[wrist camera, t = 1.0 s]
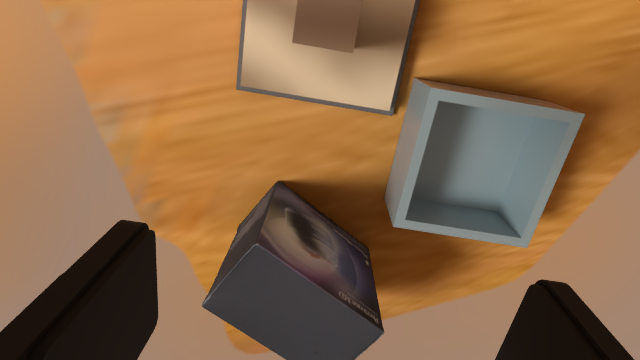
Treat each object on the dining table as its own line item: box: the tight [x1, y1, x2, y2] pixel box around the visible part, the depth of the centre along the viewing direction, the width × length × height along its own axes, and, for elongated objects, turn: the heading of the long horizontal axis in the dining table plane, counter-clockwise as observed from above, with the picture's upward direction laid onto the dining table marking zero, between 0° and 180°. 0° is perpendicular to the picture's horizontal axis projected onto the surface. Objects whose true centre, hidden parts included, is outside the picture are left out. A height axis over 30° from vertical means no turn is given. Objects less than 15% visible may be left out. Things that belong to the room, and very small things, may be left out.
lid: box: [240, 0, 415, 111], centre depth 23 cm, size 11×11×6 cm
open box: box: [384, 78, 585, 248], centre depth 28 cm, size 10×10×5 cm
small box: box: [202, 181, 384, 360], centre depth 29 cm, size 11×6×10 cm, turn 51°
